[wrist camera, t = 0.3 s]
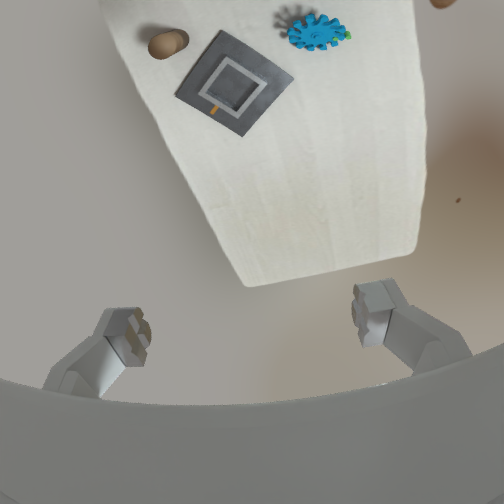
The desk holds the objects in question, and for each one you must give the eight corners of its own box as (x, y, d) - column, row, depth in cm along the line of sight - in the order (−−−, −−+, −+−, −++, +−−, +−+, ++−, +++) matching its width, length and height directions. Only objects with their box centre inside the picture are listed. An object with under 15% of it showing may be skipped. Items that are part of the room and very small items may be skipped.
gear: (283, 51, 42) (294, 17, 32) (278, 29, 42) (288, -6, 32) (341, 56, 43) (361, 26, 33) (335, 34, 43) (352, 3, 33)
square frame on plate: (223, 30, 40) (221, 31, 38) (293, 78, 47) (295, 81, 45) (176, 95, 50) (172, 99, 48) (242, 135, 57) (241, 141, 55)
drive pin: (174, 25, 39) (157, 29, 32) (193, 36, 41) (180, 41, 34) (161, 44, 42) (143, 52, 35) (180, 54, 44) (165, 64, 37)
